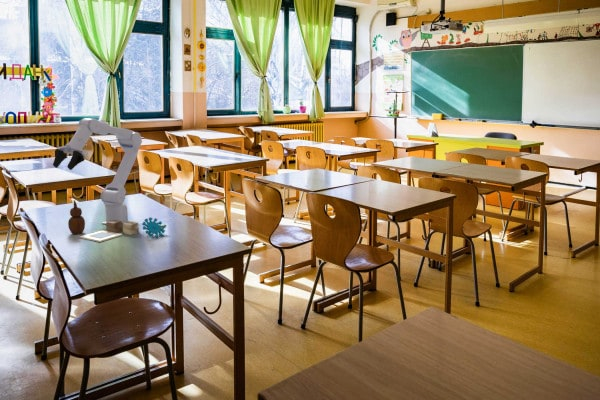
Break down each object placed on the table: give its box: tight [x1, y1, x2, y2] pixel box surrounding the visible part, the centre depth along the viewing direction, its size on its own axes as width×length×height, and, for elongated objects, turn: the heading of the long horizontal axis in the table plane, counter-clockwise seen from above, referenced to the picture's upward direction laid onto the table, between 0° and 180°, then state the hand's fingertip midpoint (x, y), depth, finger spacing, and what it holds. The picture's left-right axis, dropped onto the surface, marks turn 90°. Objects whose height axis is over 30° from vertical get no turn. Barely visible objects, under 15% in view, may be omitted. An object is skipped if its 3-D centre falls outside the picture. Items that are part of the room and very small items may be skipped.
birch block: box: [122, 220, 140, 236], centre depth 241 cm, size 4×4×4 cm
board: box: [79, 229, 123, 243], centre depth 235 cm, size 12×12×1 cm
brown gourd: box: [67, 200, 86, 235], centre depth 238 cm, size 7×6×15 cm
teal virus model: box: [141, 217, 167, 239], centre depth 237 cm, size 11×6×10 cm
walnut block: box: [105, 220, 123, 233], centre depth 243 cm, size 4×4×4 cm
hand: (61, 167), depth 227 cm, fingers open, 7 cm apart
